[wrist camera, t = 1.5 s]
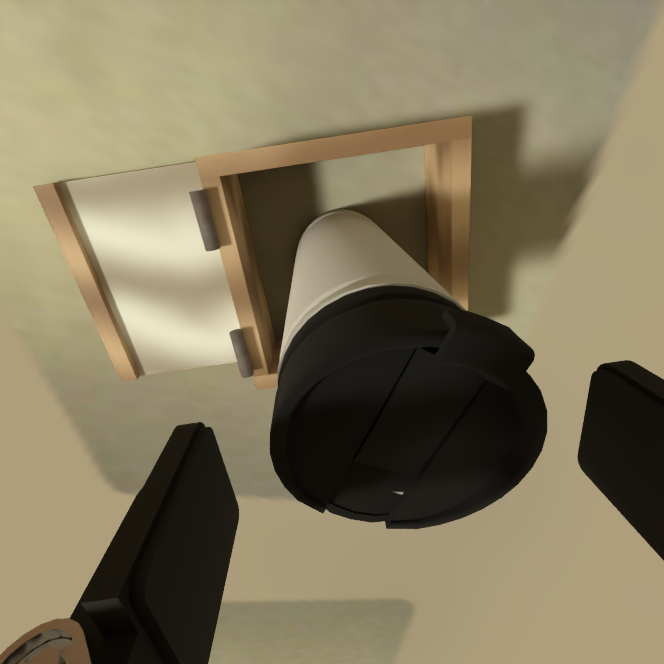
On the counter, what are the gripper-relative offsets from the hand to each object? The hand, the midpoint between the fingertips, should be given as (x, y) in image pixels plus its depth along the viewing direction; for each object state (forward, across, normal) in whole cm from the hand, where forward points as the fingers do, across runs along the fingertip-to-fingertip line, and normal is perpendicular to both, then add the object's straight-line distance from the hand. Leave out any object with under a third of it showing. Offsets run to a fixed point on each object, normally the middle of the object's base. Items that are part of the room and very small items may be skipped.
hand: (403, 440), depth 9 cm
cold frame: (+19, +6, -1) cm, 19 cm away
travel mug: (+19, 0, -1) cm, 19 cm away
